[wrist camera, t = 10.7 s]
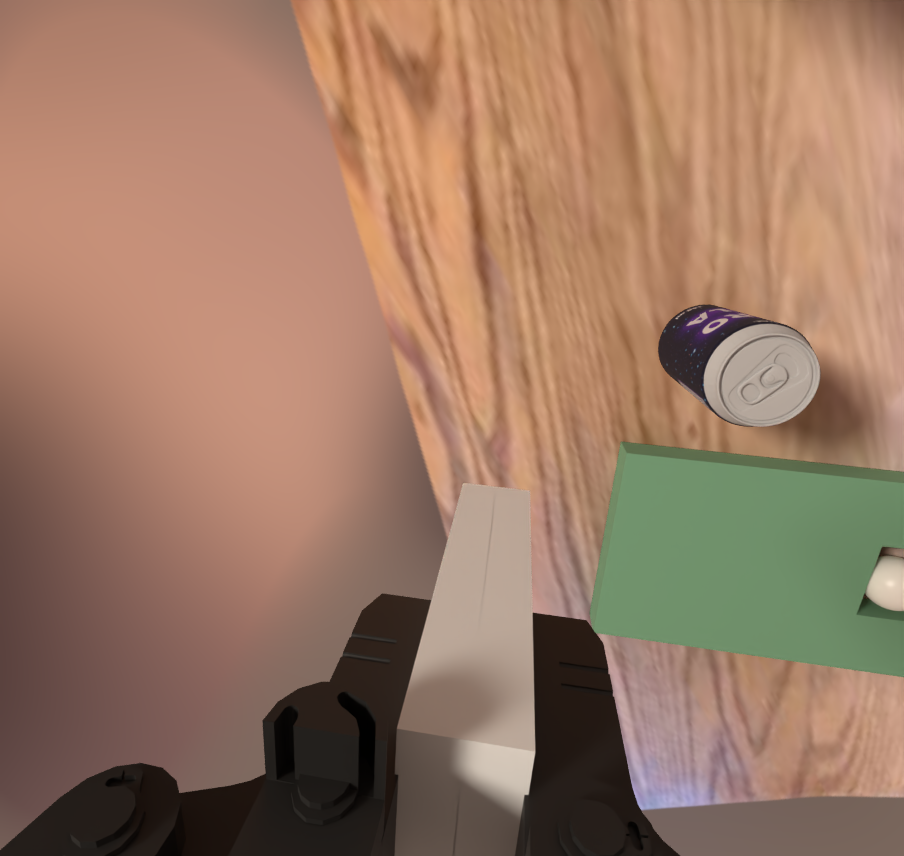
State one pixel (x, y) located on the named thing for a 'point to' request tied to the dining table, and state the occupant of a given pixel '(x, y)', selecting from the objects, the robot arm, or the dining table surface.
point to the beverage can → (740, 364)
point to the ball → (887, 583)
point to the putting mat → (750, 556)
